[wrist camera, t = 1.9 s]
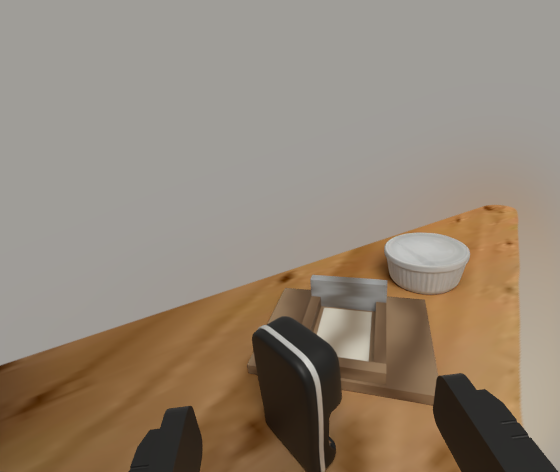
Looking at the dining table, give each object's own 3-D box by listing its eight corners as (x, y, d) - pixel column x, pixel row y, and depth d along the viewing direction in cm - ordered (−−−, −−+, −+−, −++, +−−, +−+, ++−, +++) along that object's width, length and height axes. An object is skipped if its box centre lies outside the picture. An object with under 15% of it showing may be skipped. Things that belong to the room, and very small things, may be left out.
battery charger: (350, 451, 26) (348, 344, 22) (317, 486, 24) (307, 375, 20) (294, 398, 32) (284, 302, 27) (263, 422, 30) (246, 323, 25)
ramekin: (371, 285, 48) (371, 254, 46) (400, 255, 56) (402, 227, 54) (452, 310, 41) (457, 275, 39) (473, 272, 49) (478, 240, 47)
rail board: (248, 373, 35) (241, 335, 33) (285, 294, 48) (282, 264, 46) (440, 406, 29) (447, 363, 27) (423, 307, 42) (427, 273, 40)
